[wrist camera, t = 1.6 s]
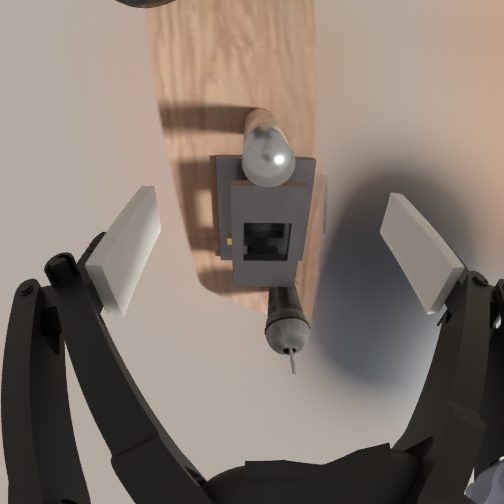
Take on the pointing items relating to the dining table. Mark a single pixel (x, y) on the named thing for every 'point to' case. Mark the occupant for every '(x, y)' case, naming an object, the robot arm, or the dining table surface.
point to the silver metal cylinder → (266, 150)
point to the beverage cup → (286, 322)
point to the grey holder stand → (263, 223)
